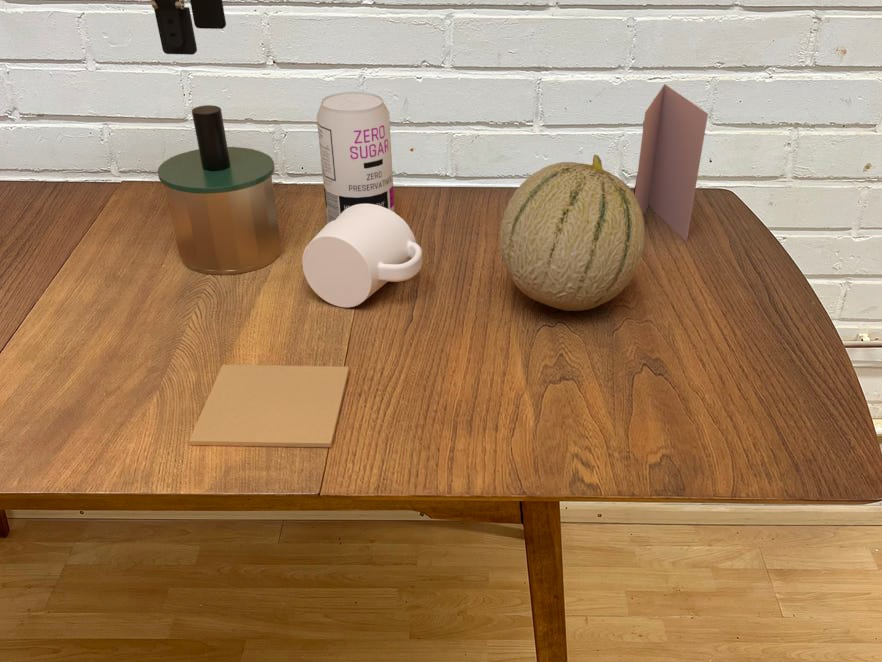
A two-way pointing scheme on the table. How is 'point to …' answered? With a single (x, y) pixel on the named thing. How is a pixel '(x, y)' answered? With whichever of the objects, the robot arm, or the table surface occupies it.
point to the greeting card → (670, 158)
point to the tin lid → (214, 160)
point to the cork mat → (272, 406)
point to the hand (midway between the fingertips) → (196, 40)
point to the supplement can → (355, 151)
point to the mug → (360, 255)
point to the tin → (226, 229)
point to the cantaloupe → (572, 235)
